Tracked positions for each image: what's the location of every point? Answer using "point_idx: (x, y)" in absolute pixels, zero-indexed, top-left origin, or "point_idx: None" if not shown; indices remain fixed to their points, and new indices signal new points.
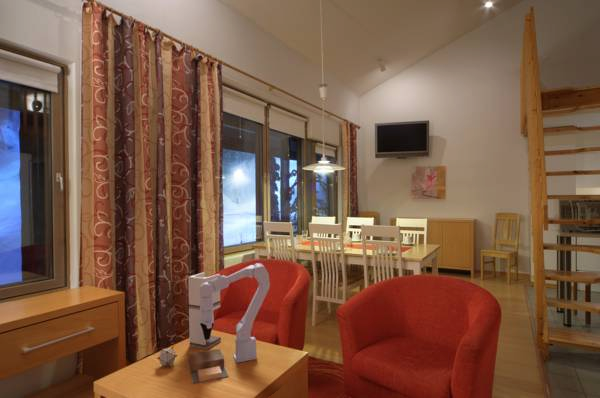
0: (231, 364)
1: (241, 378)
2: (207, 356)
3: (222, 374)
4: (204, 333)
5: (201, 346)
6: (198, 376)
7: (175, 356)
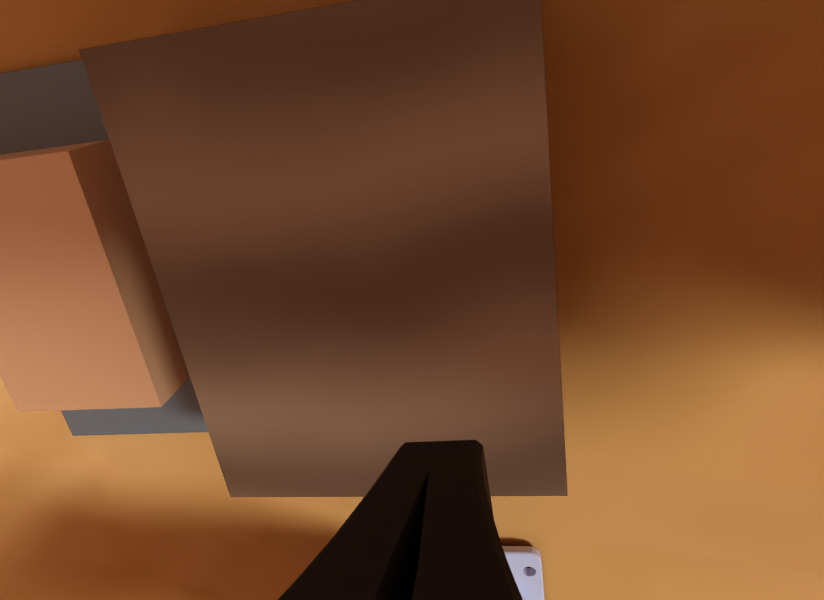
0: None
1: (53, 515)
2: (335, 315)
3: None
4: (299, 593)
5: None
6: (46, 149)
7: None
